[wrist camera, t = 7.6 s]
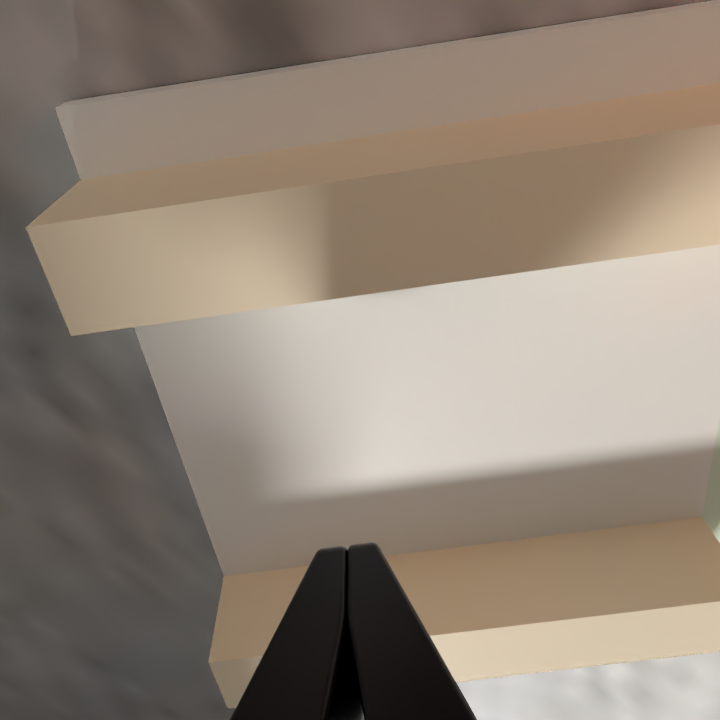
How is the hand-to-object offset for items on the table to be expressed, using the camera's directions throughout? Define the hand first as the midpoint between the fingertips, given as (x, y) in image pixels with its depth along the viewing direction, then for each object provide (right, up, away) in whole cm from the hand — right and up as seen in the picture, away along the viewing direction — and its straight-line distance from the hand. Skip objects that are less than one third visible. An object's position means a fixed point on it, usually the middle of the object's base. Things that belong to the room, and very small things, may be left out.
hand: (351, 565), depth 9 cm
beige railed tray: (+6, +3, +3) cm, 7 cm away
